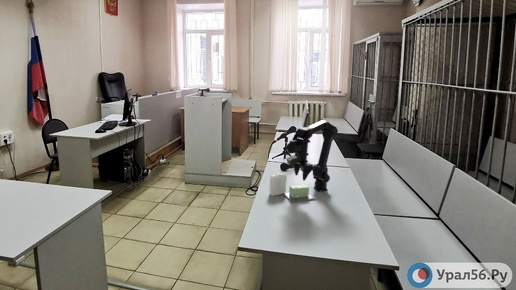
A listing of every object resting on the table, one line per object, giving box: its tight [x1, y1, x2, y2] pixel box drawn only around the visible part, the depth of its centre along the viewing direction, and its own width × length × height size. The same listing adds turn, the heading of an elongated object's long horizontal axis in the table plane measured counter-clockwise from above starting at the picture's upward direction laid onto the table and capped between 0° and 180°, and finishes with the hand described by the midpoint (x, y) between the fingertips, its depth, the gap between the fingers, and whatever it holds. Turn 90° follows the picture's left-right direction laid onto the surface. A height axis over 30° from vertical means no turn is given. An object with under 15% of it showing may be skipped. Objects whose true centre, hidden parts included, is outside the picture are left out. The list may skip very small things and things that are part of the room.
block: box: [288, 184, 310, 198], centre depth 187 cm, size 10×4×6 cm, turn 110°
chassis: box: [283, 192, 315, 203], centre depth 187 cm, size 14×11×4 cm
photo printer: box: [268, 172, 287, 197], centre depth 190 cm, size 10×4×12 cm, turn 123°
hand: (300, 177), depth 185 cm, fingers open, 9 cm apart
